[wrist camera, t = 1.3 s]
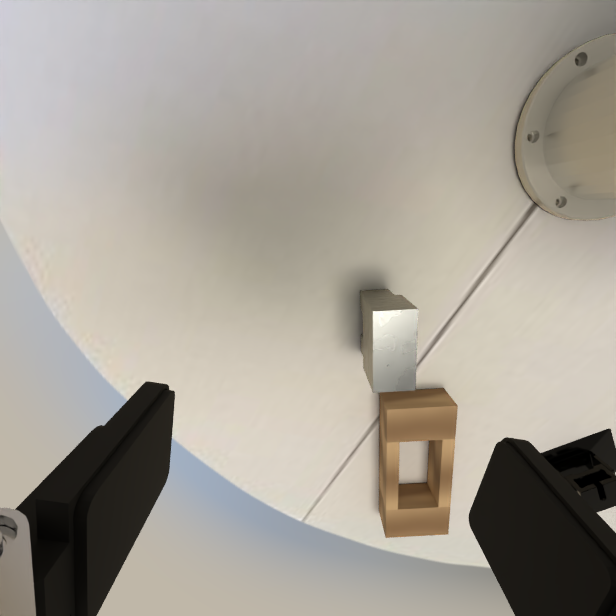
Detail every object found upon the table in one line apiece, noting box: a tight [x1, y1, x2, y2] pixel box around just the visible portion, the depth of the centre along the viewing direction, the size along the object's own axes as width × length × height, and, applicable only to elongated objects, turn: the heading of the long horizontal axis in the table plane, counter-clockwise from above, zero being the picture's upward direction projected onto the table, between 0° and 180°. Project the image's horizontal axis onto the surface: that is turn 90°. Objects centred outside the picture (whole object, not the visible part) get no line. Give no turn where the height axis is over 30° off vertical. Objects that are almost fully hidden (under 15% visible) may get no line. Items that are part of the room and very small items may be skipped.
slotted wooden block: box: [379, 388, 458, 538], centre depth 32 cm, size 14×6×3 cm, turn 3°
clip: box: [360, 289, 418, 393], centre depth 27 cm, size 6×3×7 cm, turn 3°
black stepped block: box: [540, 429, 616, 513], centre depth 33 cm, size 12×7×5 cm, turn 114°
